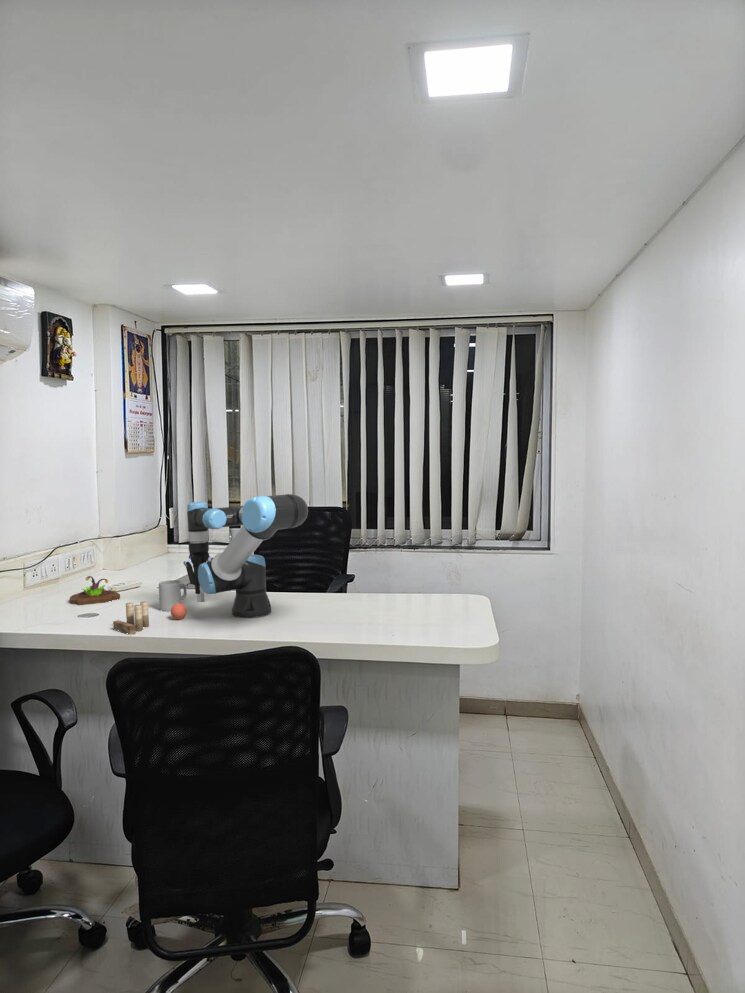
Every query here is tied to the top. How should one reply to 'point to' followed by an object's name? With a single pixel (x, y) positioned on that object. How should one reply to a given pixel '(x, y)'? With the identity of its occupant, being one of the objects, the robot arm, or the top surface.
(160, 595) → the mug
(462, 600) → the top surface
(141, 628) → the pin
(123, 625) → the brown long block
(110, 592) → the plant
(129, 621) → the pin
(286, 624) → the top surface
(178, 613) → the ball
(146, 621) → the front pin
